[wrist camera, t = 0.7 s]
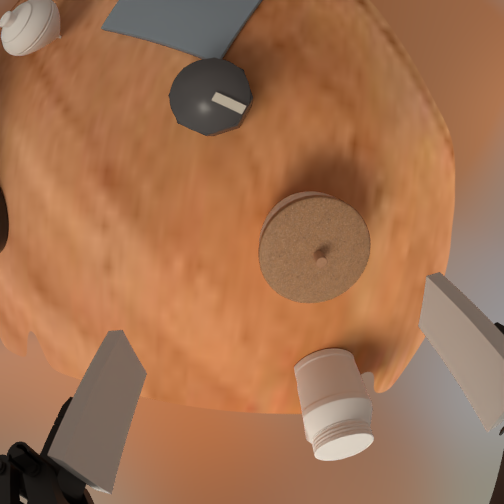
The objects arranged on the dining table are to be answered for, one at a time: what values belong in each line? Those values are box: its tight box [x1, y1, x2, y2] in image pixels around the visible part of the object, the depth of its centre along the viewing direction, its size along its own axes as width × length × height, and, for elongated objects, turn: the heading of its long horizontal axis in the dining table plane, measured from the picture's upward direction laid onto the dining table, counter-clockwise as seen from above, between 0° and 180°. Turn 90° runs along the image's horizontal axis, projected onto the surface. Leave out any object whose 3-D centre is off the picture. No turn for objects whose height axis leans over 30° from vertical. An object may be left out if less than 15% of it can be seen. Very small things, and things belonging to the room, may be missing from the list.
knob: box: [169, 57, 253, 136], centre depth 23 cm, size 7×7×7 cm
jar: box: [294, 348, 374, 461], centre depth 35 cm, size 12×10×15 cm
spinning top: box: [0, 0, 62, 56], centre depth 15 cm, size 8×8×12 cm
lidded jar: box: [259, 191, 370, 303], centre depth 28 cm, size 11×11×9 cm
